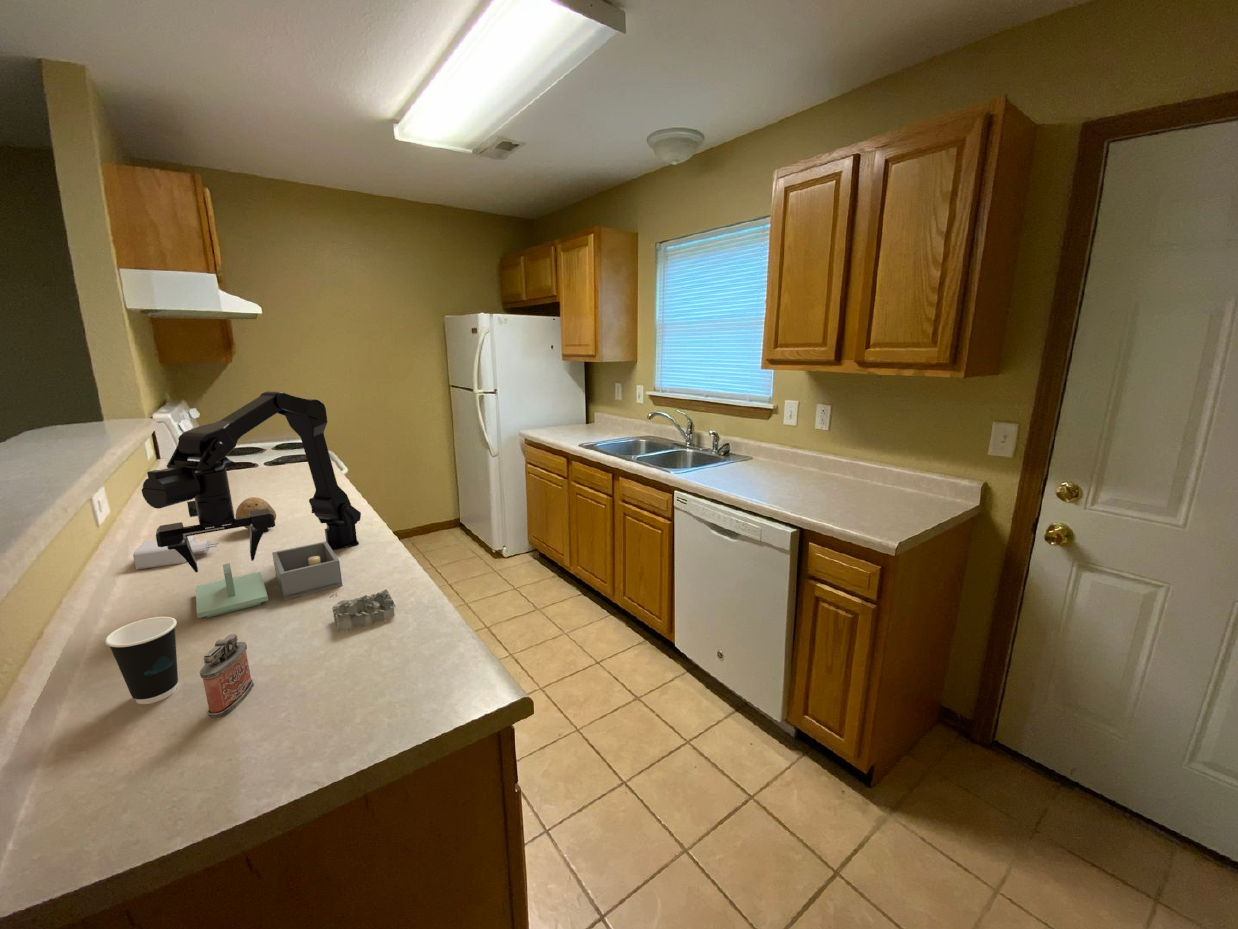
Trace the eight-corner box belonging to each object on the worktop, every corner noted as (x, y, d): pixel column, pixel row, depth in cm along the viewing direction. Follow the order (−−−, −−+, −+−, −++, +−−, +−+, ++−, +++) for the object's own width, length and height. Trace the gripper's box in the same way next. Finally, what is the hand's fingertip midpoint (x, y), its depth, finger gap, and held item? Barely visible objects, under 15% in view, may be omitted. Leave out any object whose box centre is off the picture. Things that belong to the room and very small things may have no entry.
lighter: (237, 683, 82) (226, 627, 80) (259, 682, 83) (249, 626, 80) (202, 719, 75) (189, 658, 72) (226, 718, 75) (214, 657, 73)
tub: (329, 564, 126) (326, 541, 124) (342, 585, 115) (339, 560, 114) (275, 576, 119) (272, 552, 118) (284, 600, 109) (280, 574, 107)
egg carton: (336, 636, 96) (334, 616, 95) (332, 618, 102) (330, 599, 101) (397, 619, 102) (395, 601, 101) (390, 603, 108) (388, 585, 107)
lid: (261, 579, 118) (256, 551, 116) (269, 604, 107) (263, 573, 105) (197, 594, 111) (191, 564, 109) (198, 622, 100) (191, 589, 98)
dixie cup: (171, 707, 77) (156, 641, 74) (107, 715, 75) (90, 648, 73) (200, 674, 85) (187, 613, 82) (143, 681, 83) (128, 619, 80)
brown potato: (230, 534, 144) (224, 499, 142) (262, 523, 152) (256, 491, 150) (251, 538, 141) (246, 504, 139) (283, 528, 149) (278, 495, 147)
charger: (214, 560, 128) (136, 571, 122) (223, 547, 136) (150, 556, 130) (211, 542, 127) (132, 552, 120) (220, 530, 135) (146, 539, 128)
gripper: (264, 477, 115) (274, 543, 118) (152, 491, 103) (167, 564, 107) (269, 488, 106) (280, 559, 110) (148, 505, 95) (165, 583, 99)
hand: (225, 565), depth 107 cm, fingers open, 9 cm apart
